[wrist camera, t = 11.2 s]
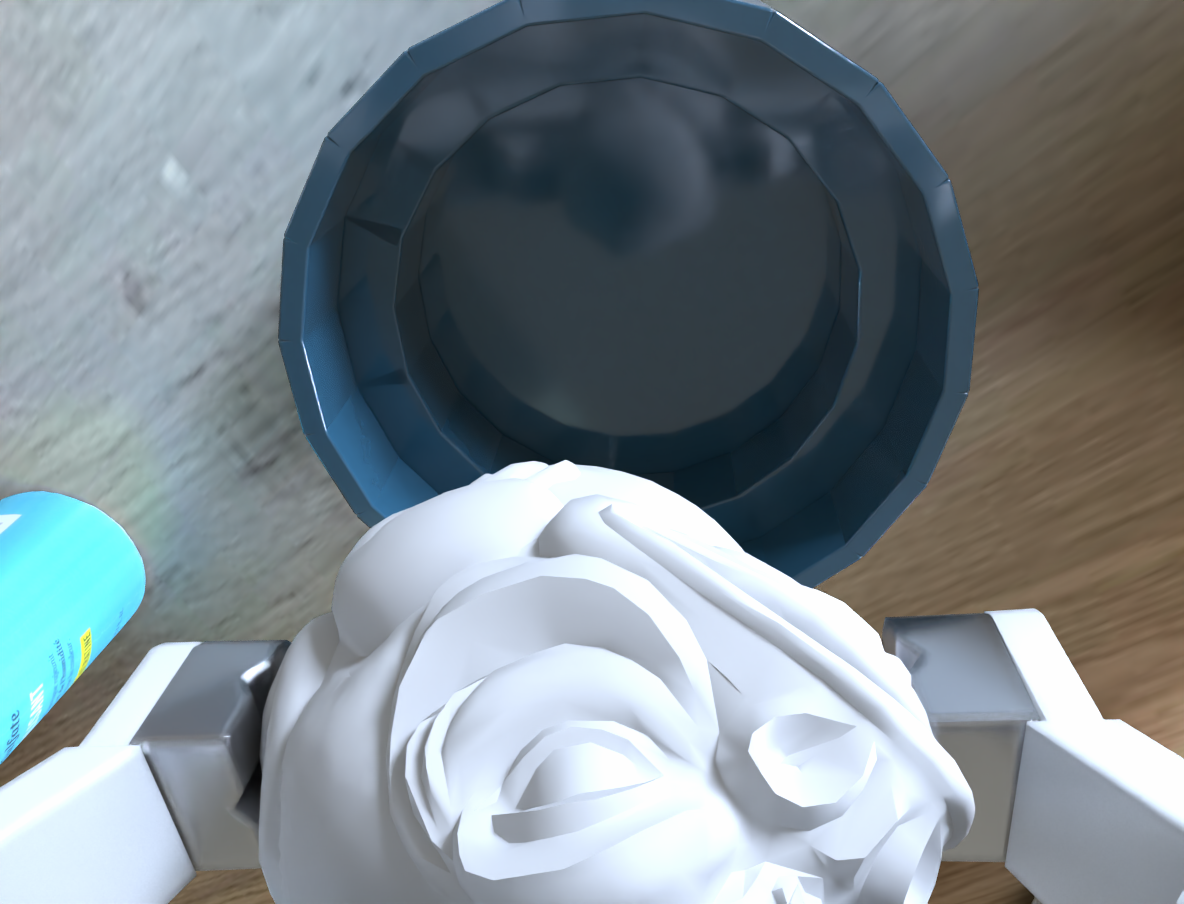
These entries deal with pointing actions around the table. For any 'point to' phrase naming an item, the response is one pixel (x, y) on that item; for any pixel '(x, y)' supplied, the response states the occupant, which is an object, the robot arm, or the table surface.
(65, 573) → the tube
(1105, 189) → the table surface
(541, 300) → the bowl
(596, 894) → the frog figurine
